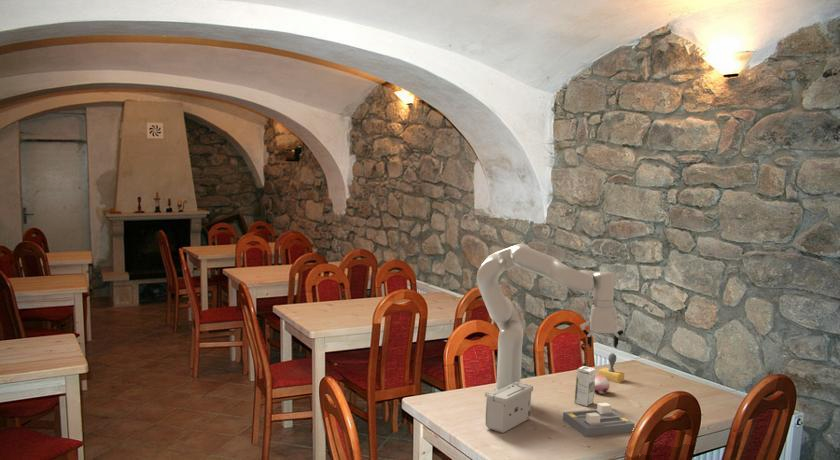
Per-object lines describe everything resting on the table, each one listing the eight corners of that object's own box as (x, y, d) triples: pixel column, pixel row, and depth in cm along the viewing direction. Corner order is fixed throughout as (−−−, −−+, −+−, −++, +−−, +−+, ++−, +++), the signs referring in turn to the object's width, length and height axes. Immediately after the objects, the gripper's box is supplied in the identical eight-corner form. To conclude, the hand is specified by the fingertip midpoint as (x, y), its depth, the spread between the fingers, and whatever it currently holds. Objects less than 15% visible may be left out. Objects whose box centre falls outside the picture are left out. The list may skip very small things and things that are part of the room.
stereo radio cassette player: (514, 413, 253) (516, 363, 251) (533, 419, 247) (535, 367, 245) (483, 429, 236) (486, 375, 234) (503, 435, 231) (506, 380, 229)
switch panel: (586, 436, 233) (586, 426, 232) (563, 419, 248) (563, 410, 247) (634, 431, 239) (634, 421, 239) (608, 415, 254) (609, 406, 254)
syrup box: (580, 399, 271) (582, 365, 269) (593, 403, 267) (596, 368, 266) (574, 403, 266) (576, 368, 265) (587, 406, 263) (590, 371, 261)
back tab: (601, 414, 246) (602, 406, 246) (597, 411, 249) (597, 403, 249) (610, 413, 248) (611, 405, 247) (606, 410, 251) (606, 402, 250)
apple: (607, 390, 284) (608, 374, 283) (611, 396, 276) (612, 379, 276) (588, 388, 285) (589, 372, 284) (591, 394, 277) (592, 378, 276)
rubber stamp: (598, 377, 301) (599, 352, 300) (604, 375, 305) (606, 349, 304) (617, 383, 294) (619, 357, 293) (624, 380, 298) (626, 354, 297)
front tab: (590, 424, 236) (590, 416, 235) (585, 421, 239) (586, 413, 238) (599, 423, 237) (600, 415, 237) (595, 420, 240) (595, 412, 240)
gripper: (582, 305, 252) (581, 348, 254) (628, 305, 251) (627, 349, 252) (579, 301, 260) (578, 343, 261) (623, 301, 258) (623, 344, 260)
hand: (602, 346), depth 257 cm, fingers open, 9 cm apart
